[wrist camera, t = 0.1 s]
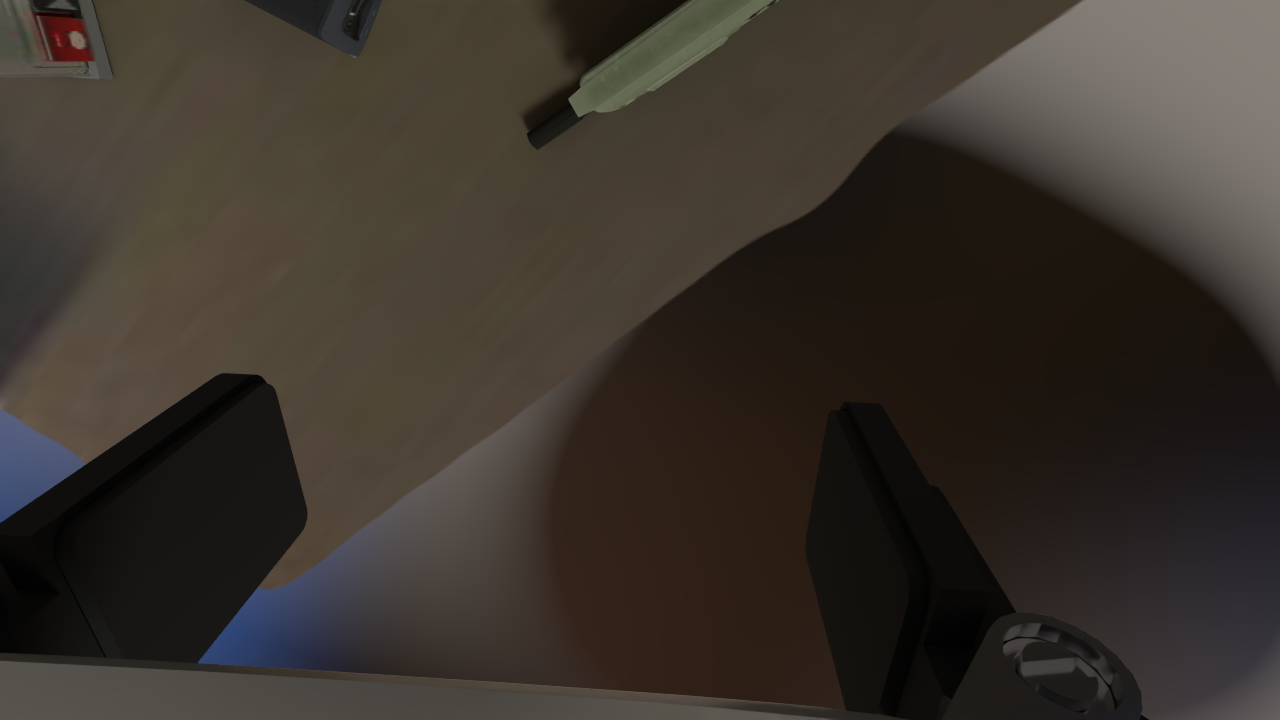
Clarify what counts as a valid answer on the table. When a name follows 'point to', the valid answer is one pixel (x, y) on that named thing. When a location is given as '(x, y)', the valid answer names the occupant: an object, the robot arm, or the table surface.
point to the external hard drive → (328, 19)
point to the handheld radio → (651, 60)
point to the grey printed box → (51, 40)
